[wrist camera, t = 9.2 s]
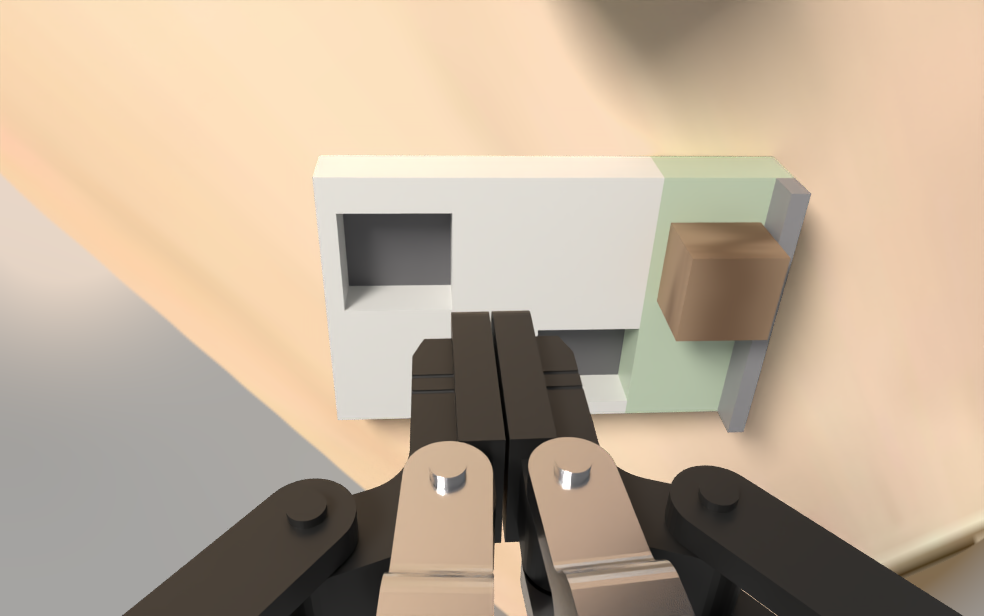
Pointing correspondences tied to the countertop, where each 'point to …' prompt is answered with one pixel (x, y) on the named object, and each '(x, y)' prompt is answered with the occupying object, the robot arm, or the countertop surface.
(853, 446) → the countertop surface
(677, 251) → the walnut block
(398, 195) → the box
